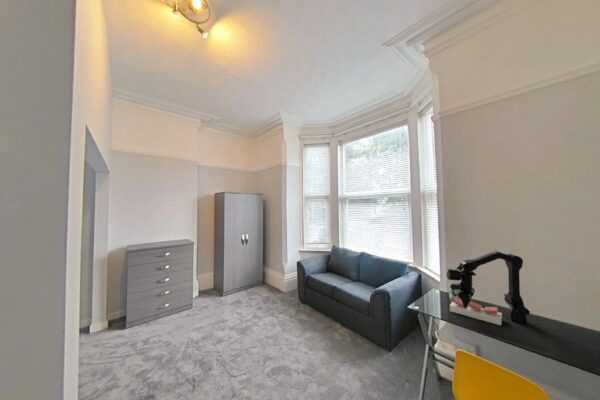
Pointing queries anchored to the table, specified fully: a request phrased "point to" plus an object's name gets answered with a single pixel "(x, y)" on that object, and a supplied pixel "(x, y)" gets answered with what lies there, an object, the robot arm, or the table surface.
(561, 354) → the table surface
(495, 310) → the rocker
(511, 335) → the table surface
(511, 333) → the table surface
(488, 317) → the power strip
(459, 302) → the rocker
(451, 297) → the ink box
